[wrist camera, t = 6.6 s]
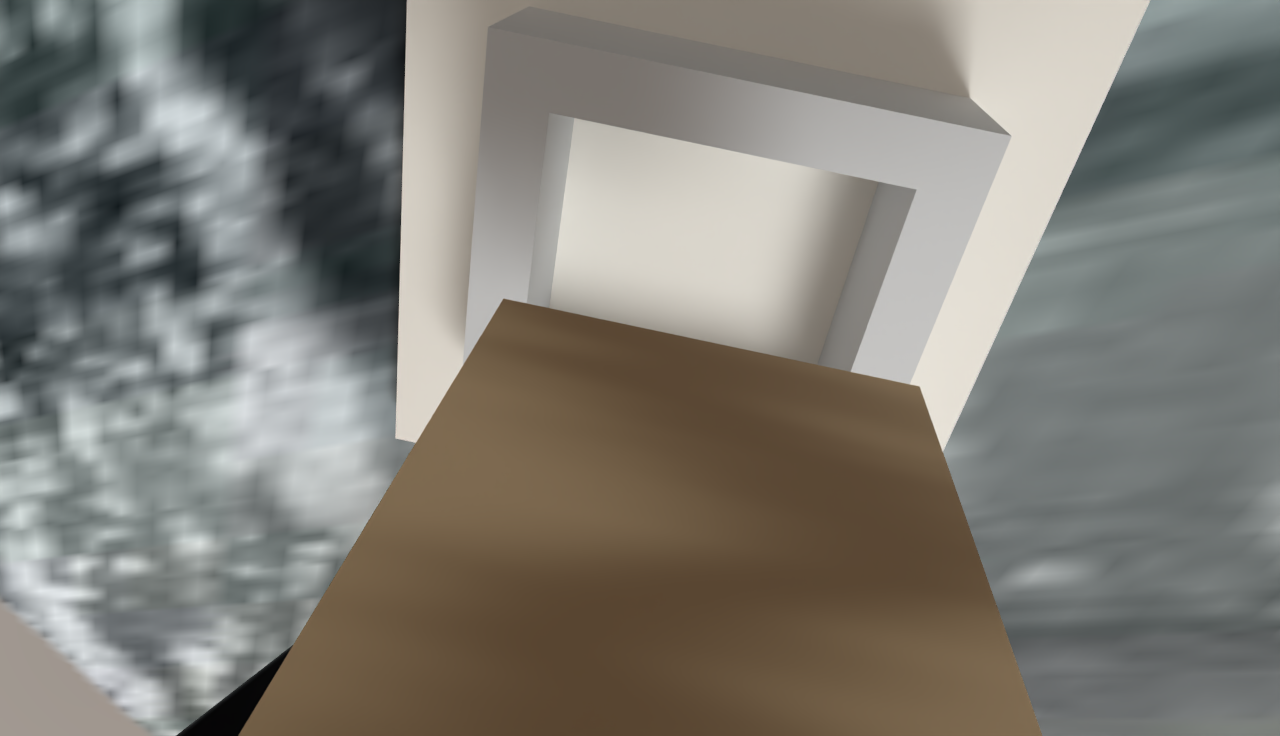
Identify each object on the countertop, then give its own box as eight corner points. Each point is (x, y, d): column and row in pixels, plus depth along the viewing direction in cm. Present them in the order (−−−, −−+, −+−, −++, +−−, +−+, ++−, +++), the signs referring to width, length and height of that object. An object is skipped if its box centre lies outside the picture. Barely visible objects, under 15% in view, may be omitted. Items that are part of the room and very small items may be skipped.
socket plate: (1134, -17, 16) (1240, 7, 12) (894, 521, 23) (919, 631, 20) (429, -163, 16) (341, -179, 13) (408, 418, 23) (349, 509, 20)
